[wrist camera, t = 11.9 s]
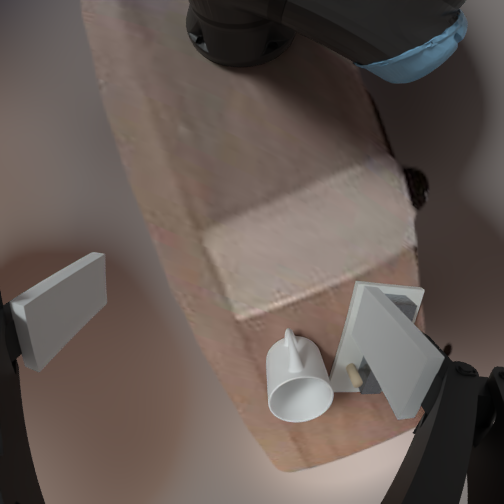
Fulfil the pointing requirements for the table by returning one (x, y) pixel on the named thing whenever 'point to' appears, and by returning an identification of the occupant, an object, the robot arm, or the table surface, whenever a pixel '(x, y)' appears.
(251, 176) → the table surface
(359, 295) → the rack
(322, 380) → the mug
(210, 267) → the table surface
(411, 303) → the grey bar
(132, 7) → the table surface
